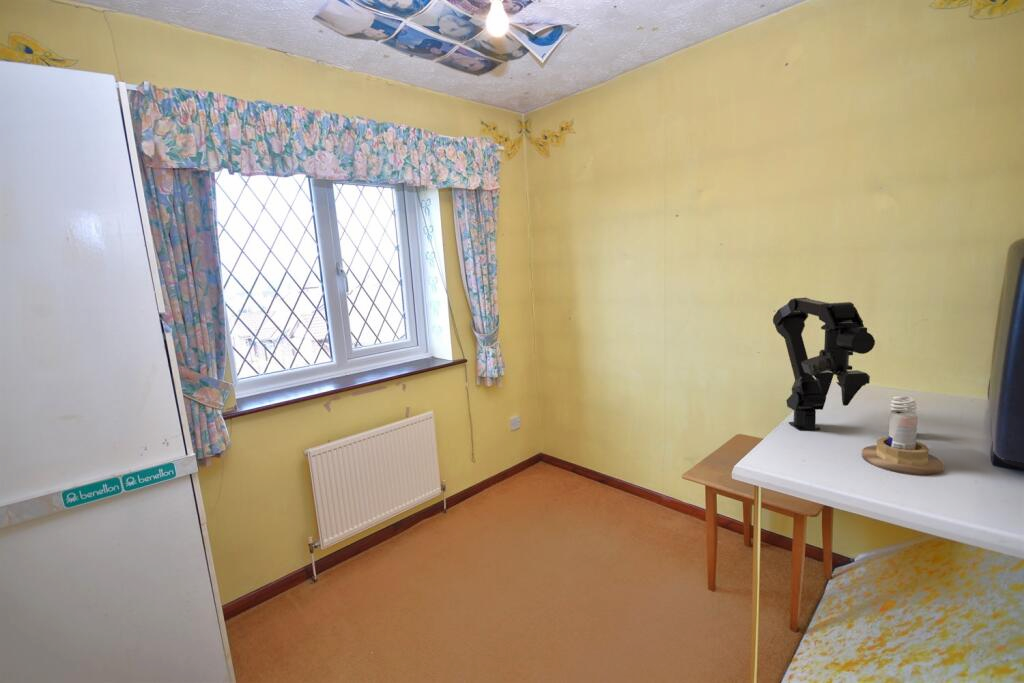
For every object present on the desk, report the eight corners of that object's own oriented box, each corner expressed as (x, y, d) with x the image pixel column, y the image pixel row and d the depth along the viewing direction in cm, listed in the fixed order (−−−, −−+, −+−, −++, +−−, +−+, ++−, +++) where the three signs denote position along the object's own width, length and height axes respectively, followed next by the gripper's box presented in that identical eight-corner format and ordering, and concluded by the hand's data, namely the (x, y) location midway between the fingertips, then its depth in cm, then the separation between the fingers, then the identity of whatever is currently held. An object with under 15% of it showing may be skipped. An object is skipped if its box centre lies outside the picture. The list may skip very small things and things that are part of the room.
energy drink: (899, 451, 118) (902, 408, 116) (920, 459, 113) (923, 414, 111) (881, 454, 117) (884, 410, 115) (901, 462, 112) (905, 417, 110)
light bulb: (887, 436, 131) (890, 397, 129) (889, 430, 135) (892, 392, 133) (913, 440, 127) (916, 400, 125) (914, 434, 131) (917, 395, 129)
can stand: (847, 450, 124) (848, 434, 123) (908, 448, 122) (909, 431, 122) (892, 476, 108) (893, 458, 107) (962, 474, 107) (964, 456, 106)
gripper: (788, 343, 134) (787, 393, 136) (828, 355, 115) (825, 412, 118) (826, 341, 133) (824, 391, 135) (872, 352, 115) (869, 410, 117)
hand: (834, 400), depth 126 cm, fingers open, 9 cm apart
